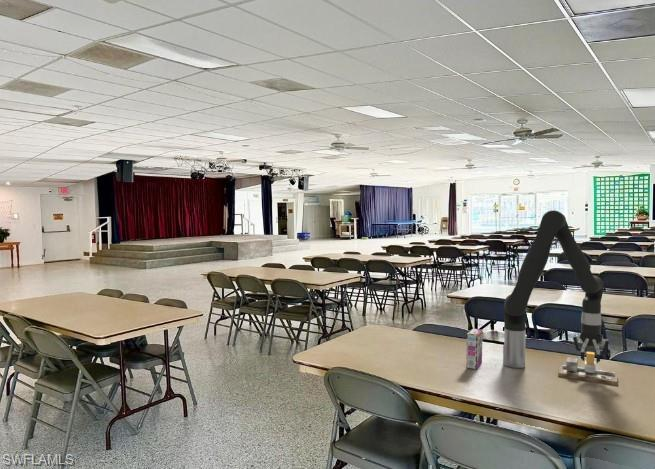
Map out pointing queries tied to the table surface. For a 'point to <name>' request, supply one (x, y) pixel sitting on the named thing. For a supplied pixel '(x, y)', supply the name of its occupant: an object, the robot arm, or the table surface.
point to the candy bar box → (474, 349)
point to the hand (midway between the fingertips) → (590, 361)
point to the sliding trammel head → (590, 362)
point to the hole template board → (586, 373)
